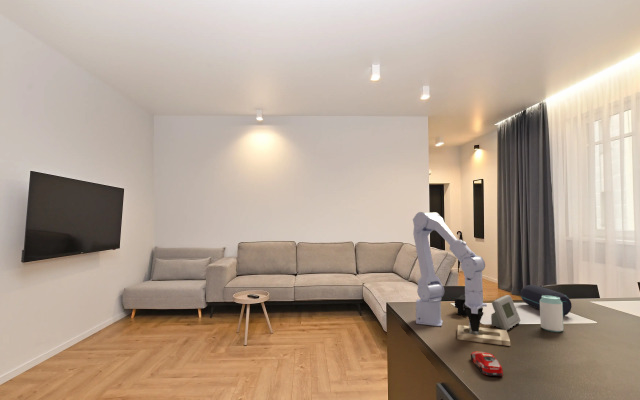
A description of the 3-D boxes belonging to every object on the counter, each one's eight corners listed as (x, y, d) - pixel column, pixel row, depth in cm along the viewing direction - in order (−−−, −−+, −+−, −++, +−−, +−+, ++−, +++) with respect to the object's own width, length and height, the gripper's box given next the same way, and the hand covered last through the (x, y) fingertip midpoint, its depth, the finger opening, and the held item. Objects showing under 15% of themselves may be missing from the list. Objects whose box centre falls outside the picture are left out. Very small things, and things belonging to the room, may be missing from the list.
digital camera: (459, 309, 155) (459, 294, 156) (472, 311, 152) (471, 295, 153) (454, 314, 146) (454, 298, 147) (468, 316, 144) (467, 299, 144)
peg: (469, 336, 118) (469, 314, 119) (468, 333, 121) (469, 311, 122) (479, 337, 117) (479, 315, 118) (478, 334, 120) (478, 313, 121)
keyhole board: (457, 339, 116) (457, 334, 116) (458, 328, 127) (458, 324, 127) (510, 346, 110) (510, 341, 110) (506, 334, 121) (506, 330, 121)
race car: (468, 358, 101) (468, 344, 101) (488, 359, 100) (487, 345, 100) (483, 378, 88) (482, 362, 88) (505, 379, 87) (505, 363, 87)
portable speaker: (577, 318, 140) (576, 294, 141) (553, 318, 140) (552, 294, 141) (538, 304, 165) (537, 283, 166) (518, 304, 165) (517, 283, 166)
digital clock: (506, 332, 123) (505, 302, 124) (482, 326, 131) (481, 298, 131) (528, 325, 132) (527, 297, 132) (505, 319, 139) (504, 293, 140)
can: (539, 329, 126) (537, 297, 127) (542, 325, 131) (541, 294, 132) (562, 334, 121) (560, 300, 122) (565, 329, 126) (563, 296, 127)
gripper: (487, 295, 112) (488, 337, 111) (485, 287, 125) (486, 325, 124) (464, 293, 115) (465, 334, 114) (464, 286, 128) (465, 322, 127)
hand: (474, 329), depth 119 cm, fingers closed on peg, 3 cm apart
